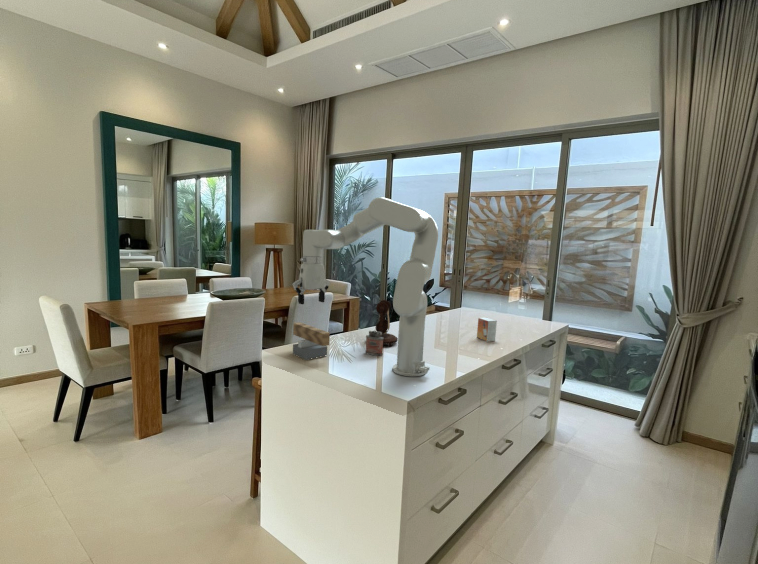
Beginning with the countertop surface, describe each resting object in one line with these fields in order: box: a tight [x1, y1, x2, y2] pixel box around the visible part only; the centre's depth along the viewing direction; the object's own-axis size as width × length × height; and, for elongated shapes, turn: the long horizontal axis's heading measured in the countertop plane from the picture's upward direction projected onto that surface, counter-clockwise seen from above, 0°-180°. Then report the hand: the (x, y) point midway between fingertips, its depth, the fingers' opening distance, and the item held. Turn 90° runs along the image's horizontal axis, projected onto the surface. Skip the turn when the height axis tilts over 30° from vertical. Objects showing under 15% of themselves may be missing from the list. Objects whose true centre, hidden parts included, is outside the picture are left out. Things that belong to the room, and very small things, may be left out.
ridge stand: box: [292, 339, 328, 361], centre depth 162 cm, size 10×10×6 cm
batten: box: [292, 321, 330, 347], centre depth 161 cm, size 22×3×5 cm, turn 43°
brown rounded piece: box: [375, 299, 398, 347], centre depth 185 cm, size 15×15×20 cm
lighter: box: [364, 329, 384, 357], centre depth 167 cm, size 8×3×10 cm, turn 62°
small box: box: [476, 317, 498, 342], centre depth 202 cm, size 8×6×10 cm
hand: (311, 302), depth 160 cm, fingers open, 9 cm apart
